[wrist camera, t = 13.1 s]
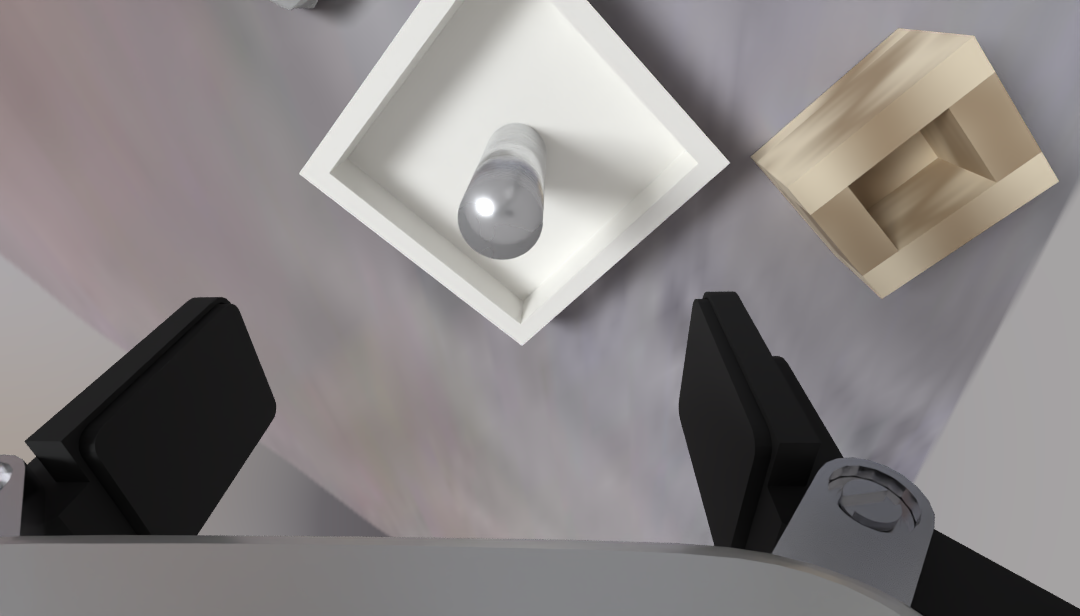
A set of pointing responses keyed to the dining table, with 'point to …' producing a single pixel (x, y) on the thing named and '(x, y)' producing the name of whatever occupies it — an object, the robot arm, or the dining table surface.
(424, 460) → the dining table surface
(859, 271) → the tan hollow square block
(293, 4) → the pulley system
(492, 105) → the tray
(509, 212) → the pin
